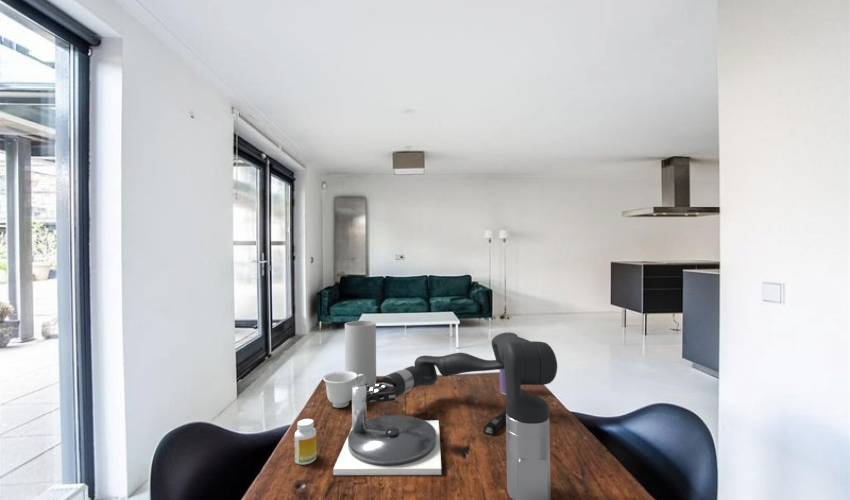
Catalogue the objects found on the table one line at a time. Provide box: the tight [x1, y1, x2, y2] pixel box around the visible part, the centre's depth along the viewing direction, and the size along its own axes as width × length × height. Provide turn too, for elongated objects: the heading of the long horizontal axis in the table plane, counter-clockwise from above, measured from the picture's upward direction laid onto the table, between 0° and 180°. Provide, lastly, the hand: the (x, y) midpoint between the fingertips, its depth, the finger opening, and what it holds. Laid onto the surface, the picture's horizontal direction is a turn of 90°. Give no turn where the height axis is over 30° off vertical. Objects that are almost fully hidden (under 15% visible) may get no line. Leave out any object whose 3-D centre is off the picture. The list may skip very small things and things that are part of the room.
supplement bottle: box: [294, 418, 317, 466], centre depth 97 cm, size 5×5×10 cm
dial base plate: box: [332, 419, 442, 476], centre depth 103 cm, size 26×26×2 cm
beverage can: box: [499, 369, 506, 396], centre depth 142 cm, size 6×6×15 cm
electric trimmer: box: [483, 408, 506, 437], centre depth 115 cm, size 4×16×3 cm, turn 145°
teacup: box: [322, 370, 366, 409], centre depth 133 cm, size 12×15×10 cm
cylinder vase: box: [344, 320, 377, 386], centre depth 153 cm, size 12×12×25 cm
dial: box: [347, 384, 436, 466], centre depth 103 cm, size 24×24×14 cm
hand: (359, 401), depth 108 cm, fingers closed
